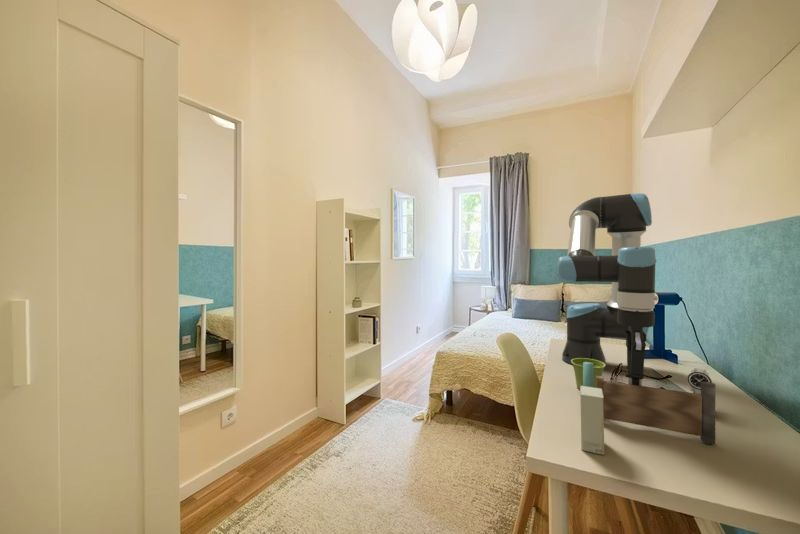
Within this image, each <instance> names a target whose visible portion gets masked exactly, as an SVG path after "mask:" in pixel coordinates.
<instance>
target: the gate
mask: <svg viewBox="0 0 800 534" xmlns="http://www.w3.org/2000/svg"><path fill="white" fill-rule="evenodd" d="M713 383H714V382H712V383H710V382H701V395H700V394H697V393H693V392H687V391H681V390H674V389H667V388H660V387H651V386H645V385H642V386H639V385H632V384H628V383H623V382H616V381H609V380H605V378H604V376H603V375H602V376H596V388H601V389H602V392H603V413H604V419H605V420H606V419H607V420H611V421H614V422H621V423H627V424H631V425H632V424H633V425H637V426H638V425H639V426H643V427H647V428H648V427H649V428H655V429H659V430H665V431H670V432H676V433H681V434H686V435H692V436H698V437H700V441H701V442H702V443H704V444H706V445H707V444H708V445H712V446H713V445H716V418H717V417H716V413H717V412H716V411H717V409H716V408H717V407H716V406H717V404H716V401H717V400H716V396H717V395H716V394H717V393H716V392H717V391H716V390H717V389H716V388H717V386H716V383H714V384H713Z"/></svg>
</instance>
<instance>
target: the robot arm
mask: <svg viewBox="0 0 800 534" xmlns="http://www.w3.org/2000/svg"><path fill="white" fill-rule="evenodd" d="M652 219H653V218H652V209H651V204H650V200H649V197H648V196H647V194H645V193H628V194H626V193H625V194H617V195H609V196H608V195H607V196H599V197H597V196H596V197H593V198H590V199H587V200H585V201H584V202H582V203H580V204H579V205H578V206H577V207H576V208H574V210H572V212H571V214H570V216H569V219H568V226H569V228H570V235H569V240H568V241H569V242H568V247H567V248H568V249H567V253H566V254H567V255H566V256H565V255H564V256H560V257H559V258H558V260H557V275H558V276H557V277H558V278H559V280H560V281H564V282H572V283H575V282H579V283H580V282H582V283H583V282H585V283H586V282H588V283H589V282H590V283H592V282H593V283H597V282H599V283H611V299H610V300H609V301H608V302H607V303H606V307H602V306H601V304H600V303H595V302H594V303H592V302H590V303H588V302H587V303H577V304H572V305H571V304H570V305H569V306H568V307H567V309H566V317H565V318H566V342H565V346H564V349H563V351H562V354H561V359H562V361H563V362H565V363H566V364H569V365H572V366H573V364H572V363H571V360H572V359H575V358H587V359H594V360H598V361H601V362H603V363H605V365H606V360H607V359H606V356H605V353H604V351H603V348H602V345H601V338H603V339H604V338H605V339H610V340H611V339H612V340H620V341H621V340H622V341H625V346H626V360H627V361H626V370H627V373H625V377H626V378H627V384H632V385H639V386H643V380H644V378H645V374H644V369H645V351H646V346H647V344H646V342H647V335H648V332H649V328H652V327H654V326H655V325H656V324H655V323H656V322H655V321H656V320H655V319H656V313H655V311H654V309H655V306H656V305H655V304H656V303H655V301H658V300H659V298H658V296H655V293H656V289H655V288H656V286H655V285H656V263H657V258H656V250H655V248H654V247H652V246H641V241H642V240H641V239H642V238H641V236H643V235H644V233H646V231H647V227H650V226H652V224H653V223H652V222H653V220H652ZM597 229H606V233H607V235H609V236H610V237H611V255H596V231H597ZM606 366H607V365H606Z"/></svg>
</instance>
